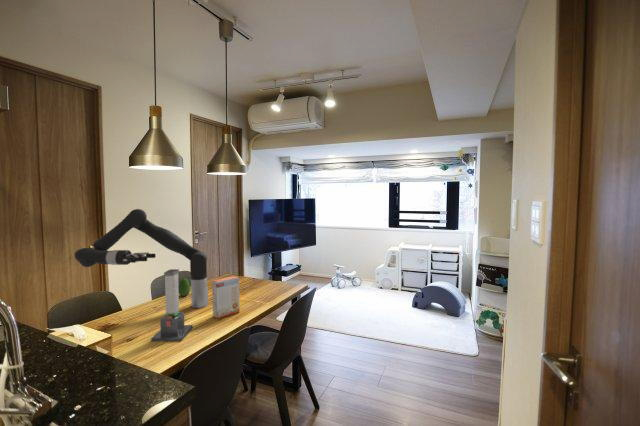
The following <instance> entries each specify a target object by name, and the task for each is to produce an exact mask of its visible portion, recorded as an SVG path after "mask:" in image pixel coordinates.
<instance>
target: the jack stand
mask: <svg viewBox="0 0 640 426" xmlns="http://www.w3.org/2000/svg"><path fill="white" fill-rule="evenodd" d="M159 320H160V325H159V327H160V329H159V330H158V331H157V332H156V333H155V334H154V335H153V336H152V337H150V341H151V342H181V341H183V340H184V339H185V338H186V336H187V335H188V334H189V333H190V332H191V331H192V329H193V324H185V312H184V311H183V312H182V311H181V312H180V311H179V315H178V316H177V317H173V315H168V316H166V313H165V314H164V315H163V316H162V317H160V319H159Z"/></svg>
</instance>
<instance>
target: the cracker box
mask: <svg viewBox="0 0 640 426" xmlns="http://www.w3.org/2000/svg"><path fill="white" fill-rule="evenodd" d="M211 282H212V283H211V285H212V286H211V289H212V316H213V317H214V318H216V319H218V320H219V319H222V318H225V317H228V316H231V315H234V314H237V313H240V312H241V310H240V278H239V277H238V276H235V275H231V276H227V277H222V278H217V279H214V280H213V279H212V281H211Z"/></svg>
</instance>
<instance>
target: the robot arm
mask: <svg viewBox="0 0 640 426" xmlns="http://www.w3.org/2000/svg"><path fill="white" fill-rule="evenodd" d="M133 228H134V229H135V230H137V231H139V232H142V233H143V234H145V235H147V236H148V237H149V238H151V239H153V240H154V241H155V242H157V243H159V244H160V245H161V246H163V247H164V248H165V249H167V250H170V251H172V252H174V253H176V254H180V255H182V256H184V257H185V258H186V259H188V260H189V262H190V263H189V269H190V270H189V271H190V294H191V295H190V301H191V306H190V307H191V308H194V309H201V308H204V307H206V306H208V304H209V288H208V270H207V269H208V268H207V264H208V262H207V260H208V257H207V256H208V255H206V253H205V252H204V251H201V250H199V249H197V248H195V247H194V246H192V245H190V244H189V243H188V242H187V241H185V240H184V239H182V238H181V237H180V236H178V235H177V234H175V233H174V232H172V231H170V230H169V229H166V228H164V227H160V226H158V225H156V224H154V223H153V222H152V221H150V220H148V219H147V213H146V212H145V211H144V210H143V209H140V208H136V209H135V208H134V209H132V210H131V211H130V212H129V213H128V214H127V215H126V216H125V217H124V218H123V219H122V220H121V221H120V222H119V223H118V224H116V225H115V226H114V227H113V228H112V229H110V230H109V231H108V232H107V233H105V234H103V236H101V237H99V238H98V239H97V240H95V241H94V242H93V243H92V247H93V248H91V247H84V248H83V247H81V248H80V249H78V250H76V251H75V252H74V258H75V259H76V261H77V262H78V263H79V264H80V265H81V266H82V267H83V268H90V267H93V266H94V265H96V264H98V265H110V266H111V265H113V266H117V265H119V266H122V265H123V266H126V265H127V266H128V265H129V264H130V263H132V264H133V263H134V264H135V263H139V262H147V261H148V259H155V258H156V253H150V252H133V253H132V251H131V250H128V249H123V250H122V249H120V250H119V249H114V250H113V249H112V250H109V249H111V248H112V247H113V246H114V245H115V244H116V243H118V242H119V241H120V239H121V238H123V236H125V235H126V234H127V233H128V232H129V231H130V230H132V229H133Z"/></svg>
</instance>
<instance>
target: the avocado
mask: <svg viewBox="0 0 640 426" xmlns="http://www.w3.org/2000/svg"><path fill="white" fill-rule="evenodd" d="M178 289H179V296H181V297H186V296H188V295H189V294H190V293H191V283H190V281H189V280H188V279H187V278H183V279H181V280H180V282H178Z"/></svg>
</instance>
